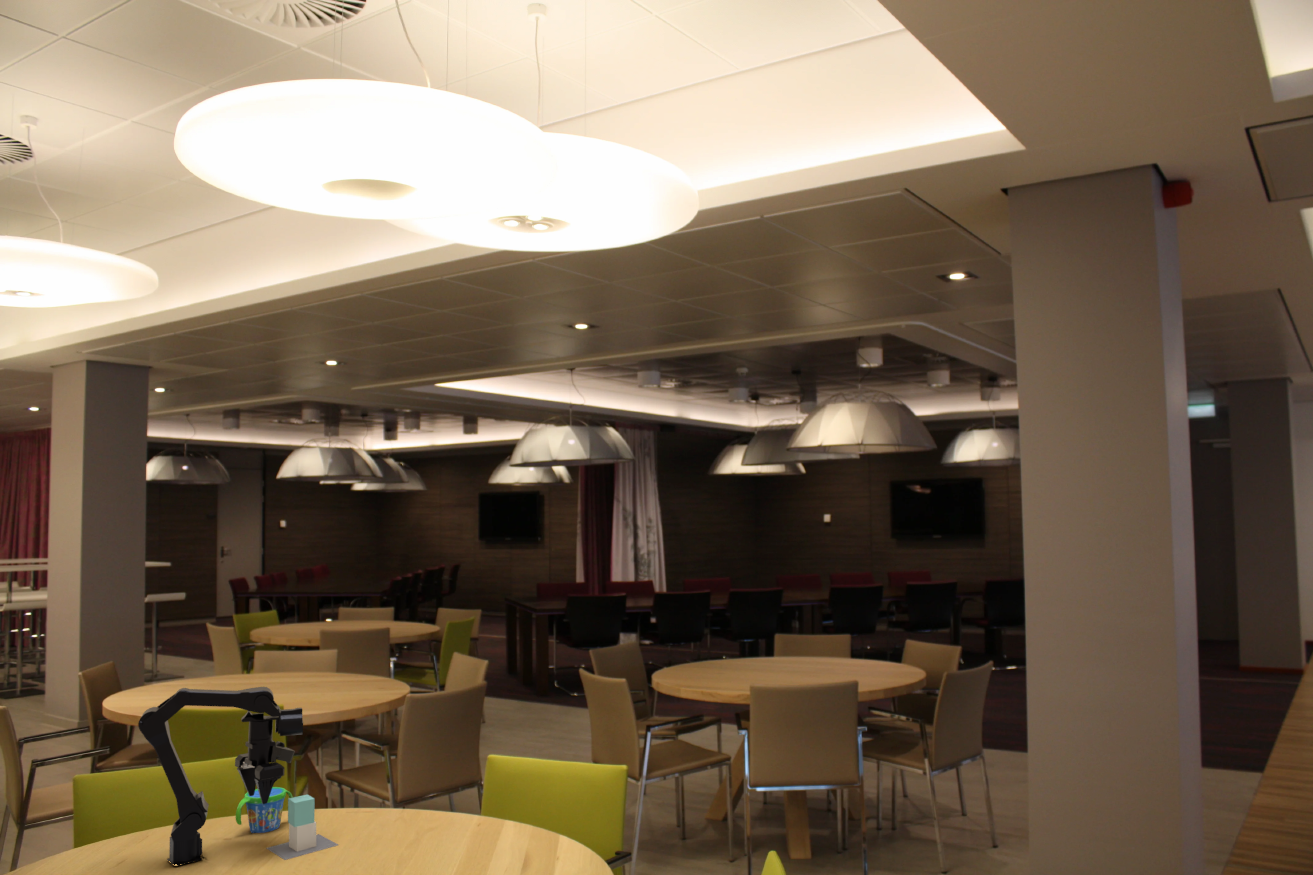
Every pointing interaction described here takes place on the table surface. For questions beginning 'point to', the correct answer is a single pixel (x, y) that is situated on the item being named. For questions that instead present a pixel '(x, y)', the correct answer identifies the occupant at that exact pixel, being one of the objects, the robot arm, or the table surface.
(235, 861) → the table surface
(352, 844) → the table surface
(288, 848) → the mat
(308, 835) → the white block
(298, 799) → the teal block
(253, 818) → the snack cup
